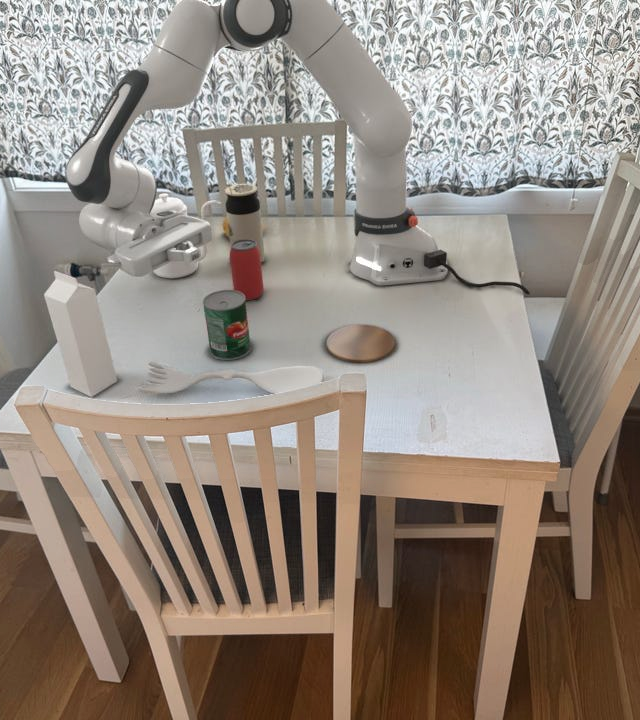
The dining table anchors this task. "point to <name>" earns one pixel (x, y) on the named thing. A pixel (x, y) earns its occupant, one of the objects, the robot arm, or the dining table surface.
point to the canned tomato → (227, 324)
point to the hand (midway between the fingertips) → (195, 256)
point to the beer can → (246, 268)
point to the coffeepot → (170, 203)
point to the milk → (80, 334)
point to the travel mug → (244, 215)
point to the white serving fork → (266, 380)
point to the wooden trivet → (360, 343)
